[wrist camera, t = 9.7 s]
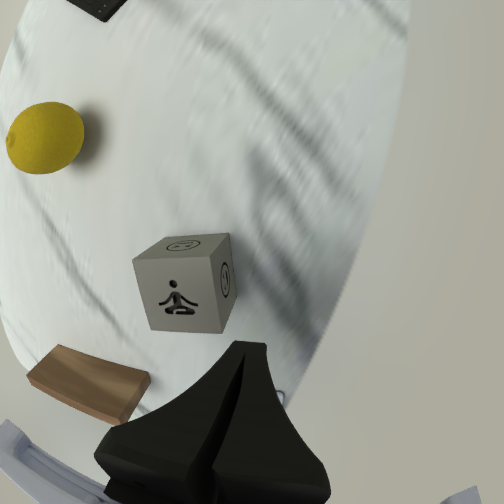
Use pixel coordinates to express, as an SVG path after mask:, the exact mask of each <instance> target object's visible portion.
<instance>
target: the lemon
mask: <svg viewBox="0 0 504 504" xmlns="http://www.w3.org/2000/svg"><path fill="white" fill-rule="evenodd" d="M83 140H84V125H83V121H82V119H81V117H80V116H79V114H78V113H77V112H76V111H75V110H74V109H73V108H72V107H70V106H68V105H65V104H62V103H58V102H46V103H40V104H36V105H33V106H31V107H29V108H27V109H25V110H24V111H23V112H21V113H20V114H19V115H18V116H17V118H16V119H15V120H14V122H13V123H12V125H11V127H10V129H9V132H8V136H7V137H6V146H7V152H8V156H9V158H10V160H11V162H12V163H13V164H14V166H15V167H16V168H18V169H19V170H21V171H24V172H26V173H30V174H48V173H53V172H56V171H58V170H60V169H62V168H64V167H66V166H67V165H68V164H70V163H71V162H72V161H73V160H74V159H75V157H76V156H77V154H78V153H79V151H80V149H81V147H82V144H83Z"/></svg>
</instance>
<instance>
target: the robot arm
mask: <svg viewBox="0 0 504 504" xmlns="http://www.w3.org/2000/svg"><path fill="white" fill-rule="evenodd" d="M266 351H267V345H266V344H265V343H258V342H246V341H236V340H235V341H234V342H232V344H231V345H230V346H229V348H228V349H227V350H226V352H225V353H224V354H223V355H222V356H221V358H220V359H219V360H218V361H217V362H216V363H215V364H214V365H213V366H212V367H211V369H210V370H209V371H208V372H207V373H206V374H204V375H203V376H202V377H201V378H200V379H199V380H198V381H197V382H196V383H195V384H193V385H192V386H191V387H190V388H189V389H187V390H186V391H185V392H183V393H182V394H181V395H179V396H178V397H176V398H175V399H173V400H172V401H170V402H169V403H167V404H165V405H164V406H162V407H160V408H158V409H156V410H154V411H152V412H150V413H148V414H146V415H144V416H142V417H140V418H137V419H135V420H132V421H129V422H126V423H123V424H120V425H117V426H114V427H111V428H110V430H109V431H108V432H107V434H106V435H105V436H104V438H103V439H102V441H101V443H100V444H99V446H98V447H97V449H96V451H95V453H94V458H95V460H96V461H97V463H98V464H99V465H100V466H101V468H102V469H103V470H104V471H105V472H106V473H107V474H108V475H109V476H110V477H111V478H110V480H109V482H108V484H107V486H105V485H102V484H100V483H98V482H96V481H94V480H92V479H90V478H88V477H87V476H85V475H83V474H81V473H79V472H77V471H75V470H73V469H72V468H70V467H68V466H67V465H65V464H64V463H62V462H60V461H59V460H57V459H56V458H54V457H52V456H51V455H49V454H48V453H46V452H45V451H43V450H42V449H41V448H39V447H38V446H36V445H35V444H33V443H32V442H31V440H30V439H29V438H28V436H27V435H25V433H24V432H23V431H22V430H20V428H18V427H17V426H16V425H14V424H13V423H12V422H11V421H10V420H9V419H6V420H5V421H4V422H3V423H2V425H1V426H0V470H1V471H2V472H3V473H4V474H5V475H6V476H7V477H8V478H10V479H11V480H12V481H13V482H14V483H15V484H16V485H17V486H18V487H19V488H20V489H21V490H23V491H24V492H25V493H26V494H27V495H28V496H30V497H31V498H32V499H33V500H34V501H36V502H37V503H38V504H105V503H106V504H325V503H326V501H327V500H328V499H329V498H330V495H331V489H330V483H329V479H328V476H327V473H326V470H325V468H324V465H323V463H322V462H321V461H320V460H319V459H318V458H317V457H316V456H315V455H314V453H313V452H312V451H311V450H310V449H309V448H308V446H307V445H306V443H305V442H304V441H303V440H302V438H301V437H300V435H299V434H298V432H297V431H296V429H295V428H294V426H293V424H292V423H291V421H290V420H289V418H288V416H287V414H286V412H285V410H284V408H283V406H282V404H283V394H282V393H281V392H276V390H275V387H274V384H273V381H272V378H271V374H270V371H269V367H268V362H267V355H266ZM440 504H481V500H480V496H479V493H478V489H477V486H473V487H471V488H468V489H466V490H464V491H461V492H459V493H456V494H454V495H453V496H450V497H448V498H447V499H445V500H444V501H442V502H441V503H440Z"/></svg>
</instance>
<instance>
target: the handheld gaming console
mask: <svg viewBox="0 0 504 504" xmlns="http://www.w3.org/2000/svg"><path fill="white" fill-rule="evenodd" d="M67 1H69V2H70V3H72V4H74V5H76V6H77V7H79V8H81V9H82V10H84V11H86V12H87V13H89V14H91V15H92V16H94V17H95V18H97V19H99V20H100V21H103V22H107V21H108V20H109V19H110V18H111V16H112V15H113V14H114V13H115V12H116V11H117V10H118V9H119V8H120V7H121V6H122V5H123V4H124V3H125V2H126V1H127V0H67Z"/></svg>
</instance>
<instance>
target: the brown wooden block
mask: <svg viewBox="0 0 504 504" xmlns="http://www.w3.org/2000/svg"><path fill="white" fill-rule="evenodd" d="M26 376H27V378H28V379H29V381H30V383H31V385H33V386H34V387H36V388H38V389H39V390H41V391H43V392H45V393H46V394H48V395H50V396H52V397H54V398H56V399H57V400H59V401H61V402H63V403H65V404H67V405H69V406H71V407H73V408H75V409H77V410H80V411H82V412H84V413H86V414H88V415H91V416H93V417H95V418H97V419H100V420H103V421H105V422H107V423H110V424H113V425H115V426H117V425H120V424H123V423H126V422H128V420H129V418H130V417H131V415H132V413H133V411H134V410H135V408H136V406H137V405H138V403H139V401H140V400H141V398H142V396H143V395H144V393H145V391H146V389H147V388H148V386H149V384H150V383H151V381H150V378H149V375H148V372H146V371H142V370H138V369H134V368H130V367H126V366H122V365H119V364H115V363H112V362H109V361H105V360H102V359H99V358H96V357H92V356H89V355H86V354H83V353H81V352H78V351H75V350H72V349H69V348H67V347H64V346H61V345H59V344H58V345H57V346H56V347H55V348H53V349H52V350H51V351H50V352H49V353H48V354H47V355H46V356H45V357H44V358H43V359H42V360H41V361H40V362H39V363H38V364H37V365H36V366H35V367H34V368H33V369H32V370H31V371H30V372H29V373H28V374H27V375H26Z"/></svg>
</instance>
